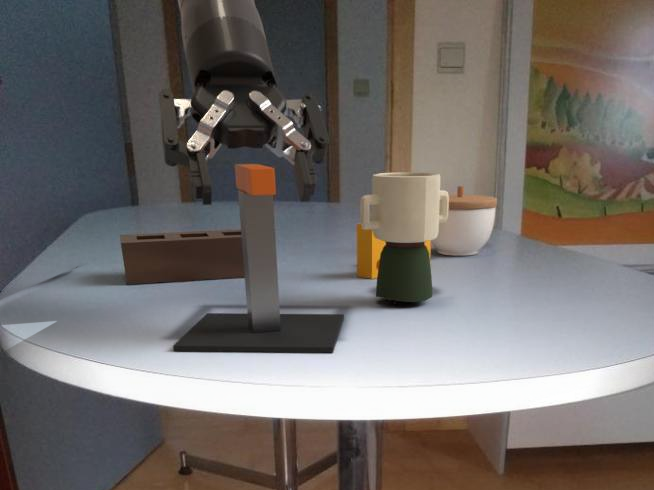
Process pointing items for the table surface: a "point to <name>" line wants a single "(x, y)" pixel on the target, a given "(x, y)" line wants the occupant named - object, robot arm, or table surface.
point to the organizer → (182, 256)
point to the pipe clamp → (371, 252)
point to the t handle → (259, 245)
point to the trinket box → (466, 224)
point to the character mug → (404, 231)
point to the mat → (263, 334)
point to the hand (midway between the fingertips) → (258, 197)
